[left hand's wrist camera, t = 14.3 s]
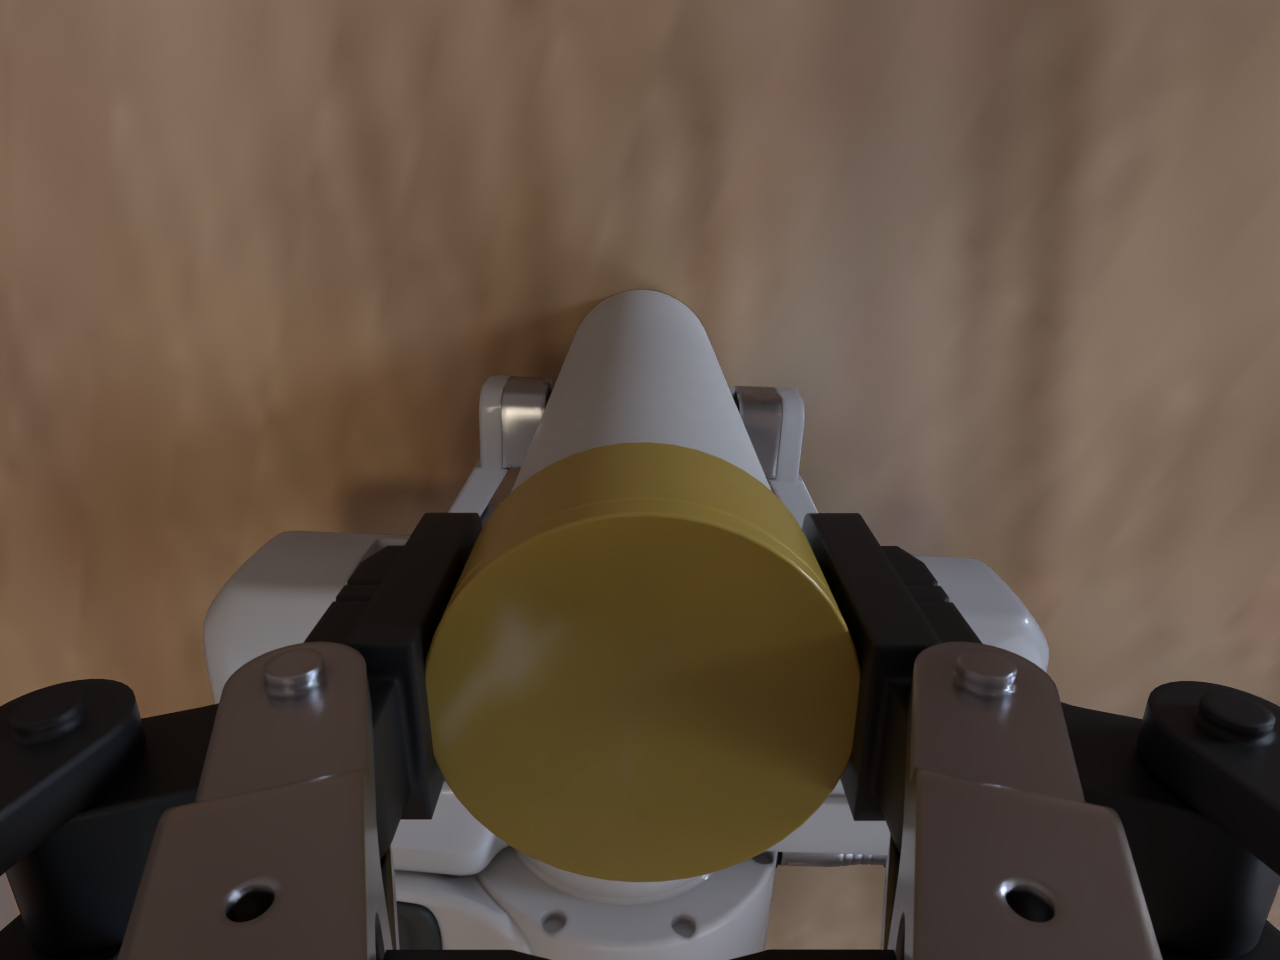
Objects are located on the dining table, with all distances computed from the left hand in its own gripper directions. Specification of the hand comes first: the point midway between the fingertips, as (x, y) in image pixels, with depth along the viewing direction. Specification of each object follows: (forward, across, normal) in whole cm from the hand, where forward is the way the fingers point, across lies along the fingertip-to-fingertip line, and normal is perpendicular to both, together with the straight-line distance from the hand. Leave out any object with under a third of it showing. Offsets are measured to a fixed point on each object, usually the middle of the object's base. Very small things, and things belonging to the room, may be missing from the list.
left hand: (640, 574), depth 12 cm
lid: (-3, 0, 0) cm, 3 cm away
